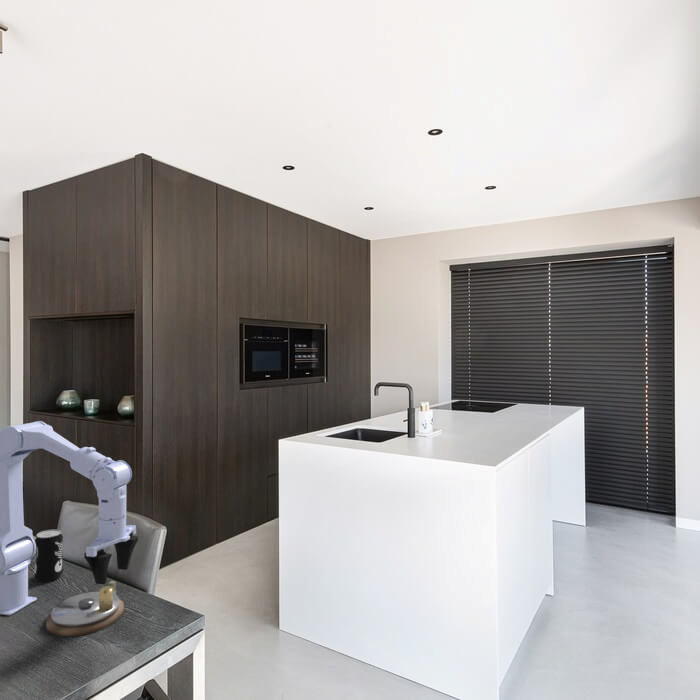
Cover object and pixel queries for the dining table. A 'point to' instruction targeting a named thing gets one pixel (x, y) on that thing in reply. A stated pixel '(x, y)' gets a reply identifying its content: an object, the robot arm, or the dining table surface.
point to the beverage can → (48, 556)
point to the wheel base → (89, 628)
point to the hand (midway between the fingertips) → (112, 576)
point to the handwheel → (86, 608)
